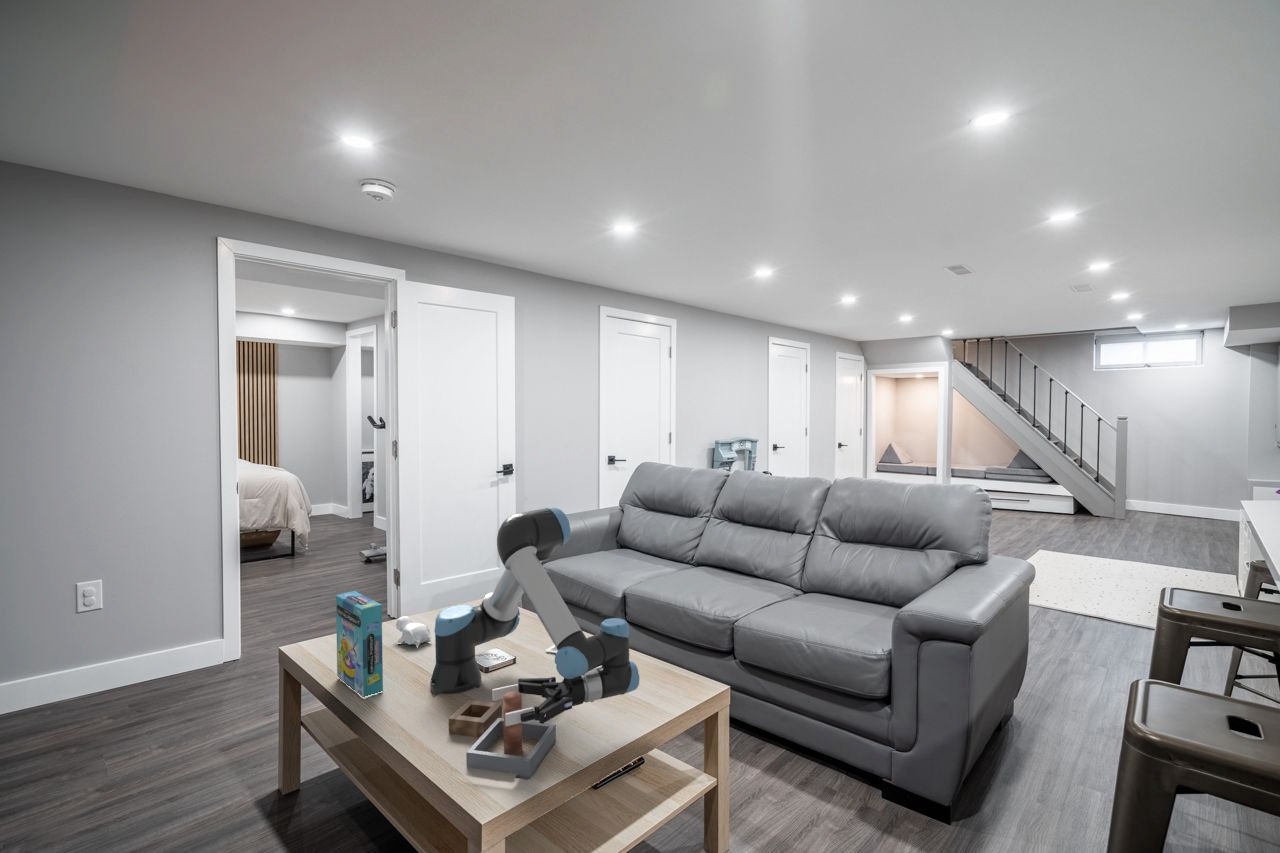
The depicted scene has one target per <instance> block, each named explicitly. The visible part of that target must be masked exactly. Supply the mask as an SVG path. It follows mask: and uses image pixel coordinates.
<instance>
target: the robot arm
mask: <svg viewBox="0 0 1280 853" xmlns="http://www.w3.org/2000/svg"><path fill="white" fill-rule="evenodd" d="M570 526H571V525H570V521H569V518H568V517H567V515H566V514H565V512H564V511H563V510H562V509H561V508H559V507H558V508H557V507H545V508H540V509H536V510H535V509H534V510H530V511H523V512H517V513H514V514H512V515H510V516H508V517H507V518H506V519H504V521H503V522H502V523H501V524H500V527H499V529H498V530H497V534H496V535H497V537H496V547H497V553H498V556H499V559H500V561H501V563H502V564H503V567H504V568H505V570H504V572H503V573H502V575H501V577H500V579H499V581H498V582H497V584H496V586H495V588H494V590H493V591H491V592H488V593H487V594H486V595H485V597H484V598H483V600H482V602H481V604H479V605H477V606H473V605H470V604H460V605H453V606H450V607H447V608H445V609H443V610H441V611H440V612H439V613H438V614H437V615H436V617H435V623H434V629H433V630H434V634H435V636H434V637H435V639H434V643H435V645H434V646H435V665H434V669H433V672H432V675H431V678H430V683H429V689H430V692H431V693H432V694H433V695H436V696H438V695H439V694H440V695H441V694H442V695H445V694H446V695H453V694H460V693H463V692H467V691H470V690H472V689H474V688H475V689H479V687H480V686H481V685H482V672H481V670H480V667H479V664H478V662H477V659H476V647H477V646H479V645H482V644H485V643H488V642H491V641H493V640H496V639H499V638H503V637H506V636H508V635H510V634H512V633H513V632H515V630H516V629H517V627H518V626H519V623H520V617H519V616H521V614H520V608H519V605H518V604H519V601H520V600H521V598H522V597H523V595H525V596H526V599H527V600H528V602H529V603H530V605H531V607H532V608H533V610H534V612H535V614H536V615H537V617H538V619H539V620H540V622H541V624H542V626H543V627H544V629H545V631H546V632H547V634H548V636H549V637H550V639H551V641H552V642H553V645H554V644H555V646H556V648H557V650H558V651H557V653H555V655H554V663H555V668H556V671H557V673H558V674H559V675H560V676H561V678H563V679H562V681H559V682H557V677H555V676H551V677H539V678H538V677H537V678H535V677H531V678H530V677H527V678H525V677H524V678H522V677H521V678H518V679H517V683H515V684H511V685H506V686H501V687H498V688H497V687H496V688H492V691H491V694H492V696H491V697H492V702H494V701H499V700H503V696H504V695H505V694H506V693H509V692H520V693H521V694H524V695H535V696H540V697H541V698H543V699H545V700H543V702H541V703H539V705H534V707H533V706H531V707H530V706H529V707H527V708H522V710H517V711H513V712H509V713H505V725H506V726H510V725H514V724H518V723H522V722H526V721H529V722H531V721H533V720H534V721H535V722H537V721H538V723H541V724H542V723H546V722H548V721H550V720H552V719H553V718H555V717H557V716H559V715H560V714H562V713H564V712H565V711H569V710H571V709H573V707H575V706H579V705H583V704H584V703H585V704H587V703H593V702H595V701H599V700H603V699H606V698H607V699H608V698H611V697H614V696H621V695H625V694H628V693H631V692H633V691H636V690H637V689H638V687H639V685H640V673H639V669H638V666H637V664H636V663H635V662H634V661H632V660H631V661H630V637H631V636H630V628H629V624H628V622H627V620H625V619H623V618H618V617H617V618H616V617H612V618H607V619H603V621H602V622H601V623H600V629H599V632H598V633H596V634H594V635H591V636H589V637H586V635H585V634H584V632H583V630H582V629H581V627H580V626H579V624H578V622H577V621H576V619H575V618H574V616H573V614H572V612H571V611H570V609H569V607H568V605H567V604H566V603H565V601H564V599H563V597H562V596H561V594H560V593H559V591H558V589H557V588H556V586H555V584H554V583H553V582H552V580H551V577H550V576H549V574H548V573H547V571H546V570H545V568H544V566H543V564H542V562H545V561H548V560H549V559H550V558H551V557H552V555H553V553H554V551H555V550H556V548H557V547H562V546H564V545H565V544H567V543H568V541H569V540H570V537H571V527H570ZM600 666H601V667H600Z"/></svg>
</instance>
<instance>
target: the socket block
mask: <svg viewBox="0 0 1280 853" xmlns="http://www.w3.org/2000/svg"><path fill="white" fill-rule="evenodd" d="M498 718H503V704H502V703H498V702H490V701H489V702H488V701H480V700H470V699H468V700H467V701H465V703H464V704H462V705H461V707H459V708H458V709H457V710H456V711H455V712H454V713H453V714H451V715H450V716H449V717H448V734H449V735H456V736H463V737H470V738H478V739H479V738H480V737H481V736H482V735H483V734H484V733H485V732H486V730H487V729H488V728H489V727H490V726H491V725H492V724H493V723H494V722H495V721H496V720H497V719H498Z"/></svg>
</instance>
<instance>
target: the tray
mask: <svg viewBox="0 0 1280 853" xmlns="http://www.w3.org/2000/svg"><path fill="white" fill-rule="evenodd" d="M500 735H504V719H503V717H502V718H498V719H497V720H496V721H495V722H494V723H493V724H492V725H491V726H490V727H489V728H488V729H487V730H486V732H485V733H484V734H483V735H482V736H481V737H480V738H478V739H477V740H476V741H475V742H474V744H472V746H471V747H470V748H469V749H468V750H467V751H466V752H465V753H466V756H465V757H466V768H471V769H473V768H474V769H480V770H486V771H487V770H488V771H494V772H500V773H509V774H516V776H515V779H521V778H522V779H523V780H528V779H530V780H532V778H533V776H534V775H533V774H535V773H536V772H537V770H538V768H539V767H540V766H541V764H542V762H544V760H545V758H546V757H547V756H548V754H549V753H550V751H551V750H552V749H553V747H554V746H555V744H556V742H557V725H556V724H553V723H546V722H545V723H542V724H541V723H540V722H539V721H538V722H537V721H526V722H522V738H530V739H538V741H537V743H536V745H535V746H534V747H533V748H532V750H531V751H530V753H529V754H528V755H527V756H522V755H518V756H515V755H507V754H504V753H498V752H491V751H487V750H488V749H489V748H490V747H491V745H492V744H493V743H494V742H495V741H496V739H498V738H499V736H500ZM531 777H532V778H531Z"/></svg>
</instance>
